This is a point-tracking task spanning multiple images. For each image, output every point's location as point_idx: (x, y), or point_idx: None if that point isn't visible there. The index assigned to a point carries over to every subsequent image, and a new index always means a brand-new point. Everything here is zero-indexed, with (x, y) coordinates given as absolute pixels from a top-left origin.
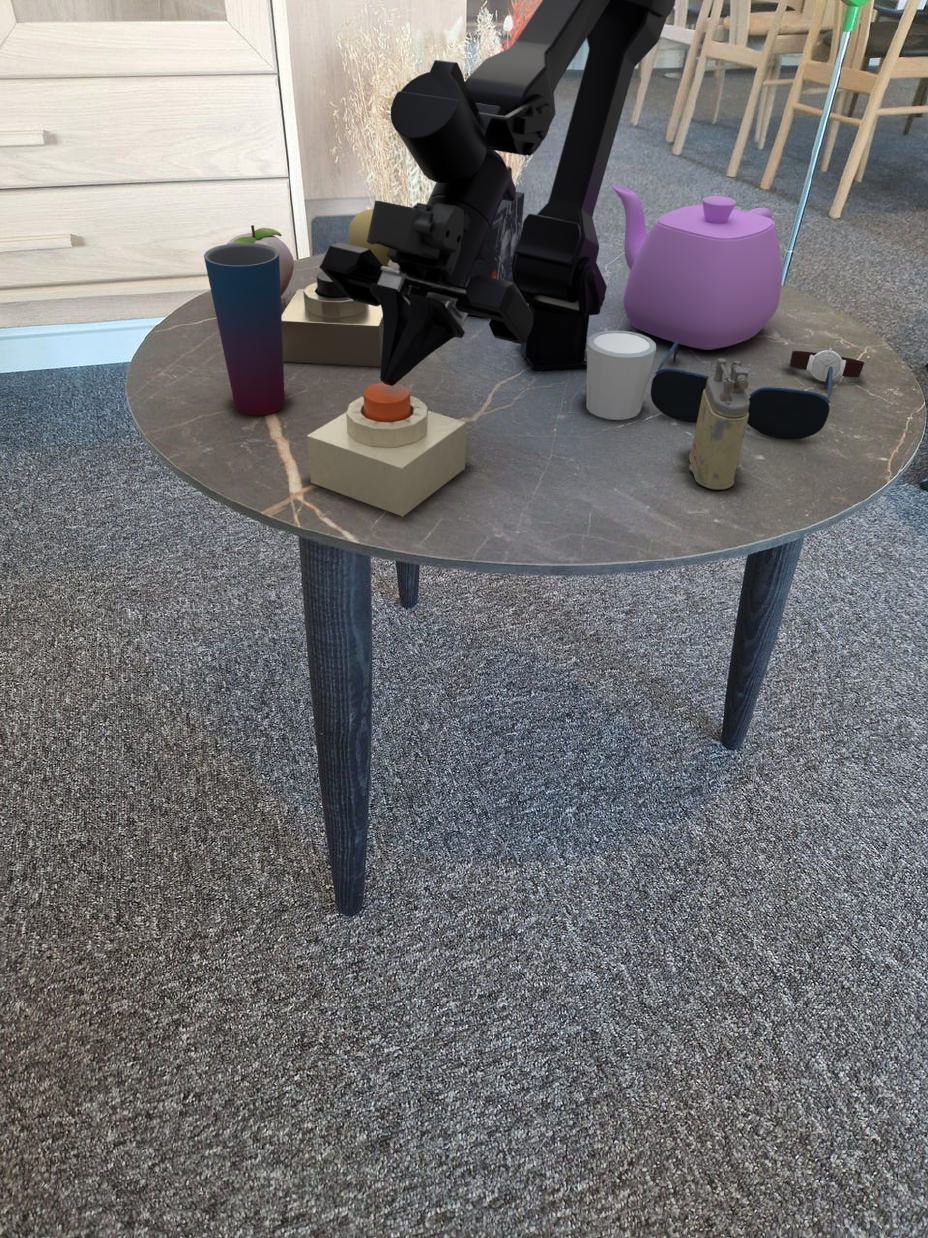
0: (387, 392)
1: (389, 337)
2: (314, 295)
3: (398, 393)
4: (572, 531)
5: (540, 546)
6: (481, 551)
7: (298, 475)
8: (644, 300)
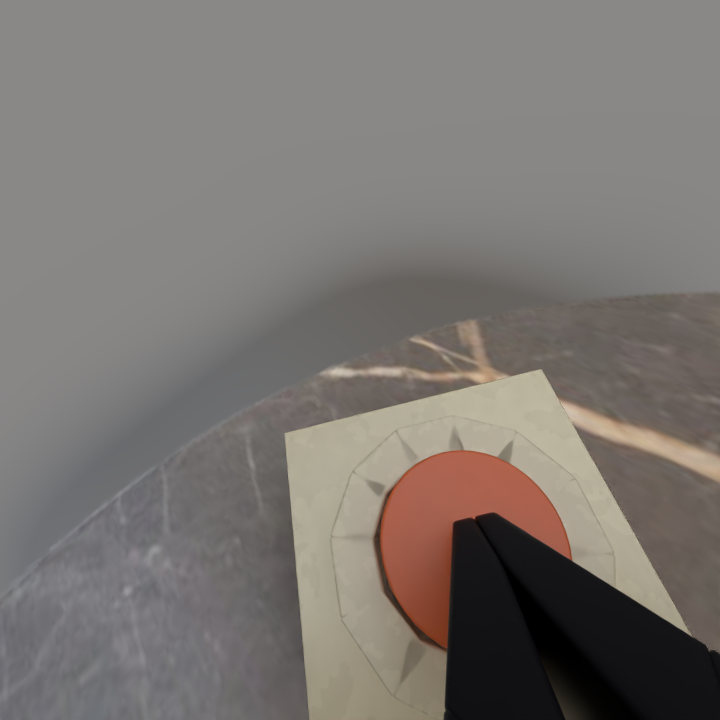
0: None
1: (670, 684)
2: None
3: (435, 571)
4: (29, 689)
5: (76, 583)
6: (159, 490)
7: None
8: None
